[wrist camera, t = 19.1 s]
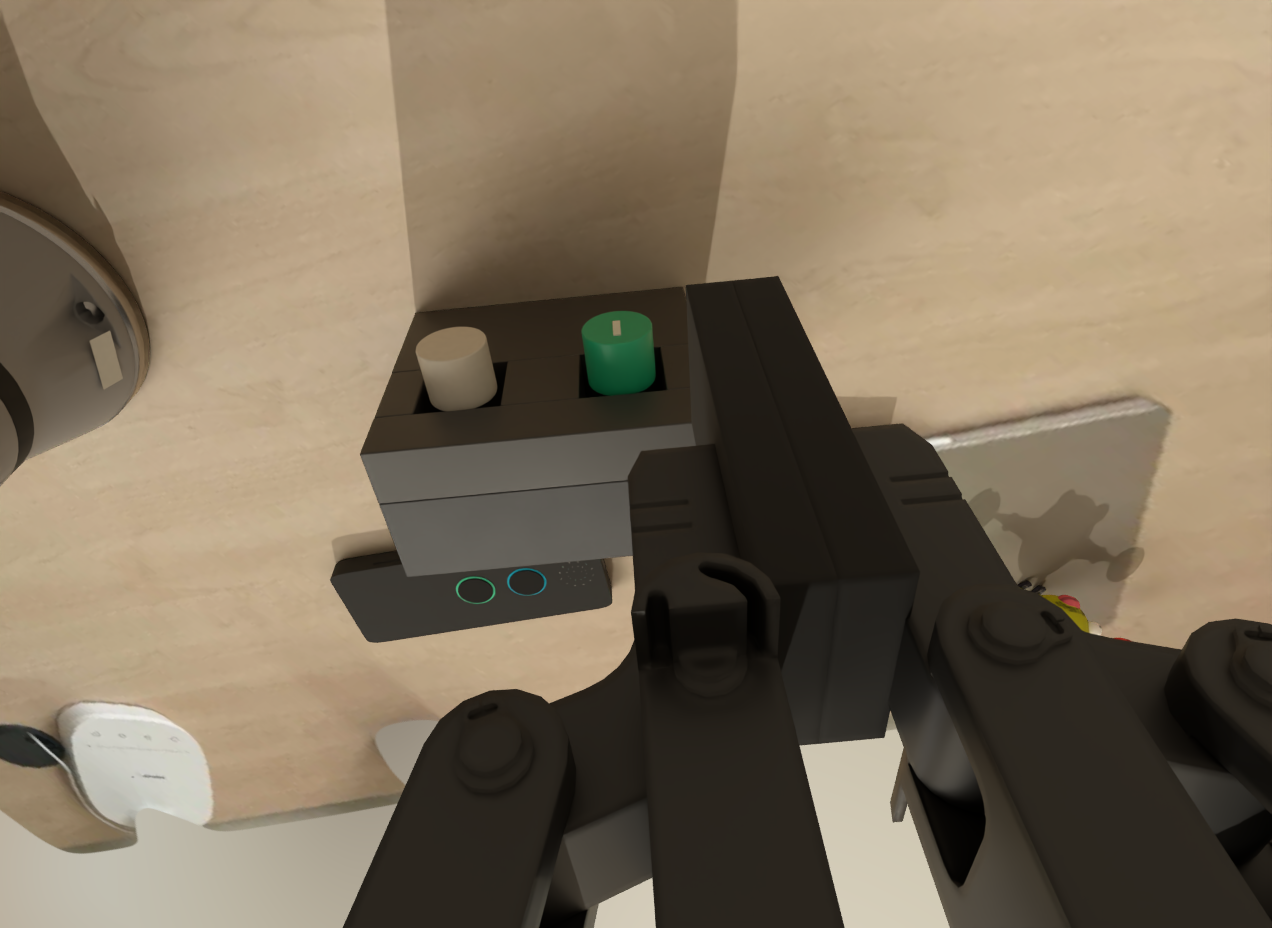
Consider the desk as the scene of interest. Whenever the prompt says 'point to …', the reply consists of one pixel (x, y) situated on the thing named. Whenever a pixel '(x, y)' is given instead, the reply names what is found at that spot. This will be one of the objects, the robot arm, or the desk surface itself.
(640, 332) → the key power
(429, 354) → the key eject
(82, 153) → the desk surface
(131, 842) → the desk surface
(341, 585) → the smart home device
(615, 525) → the dock
